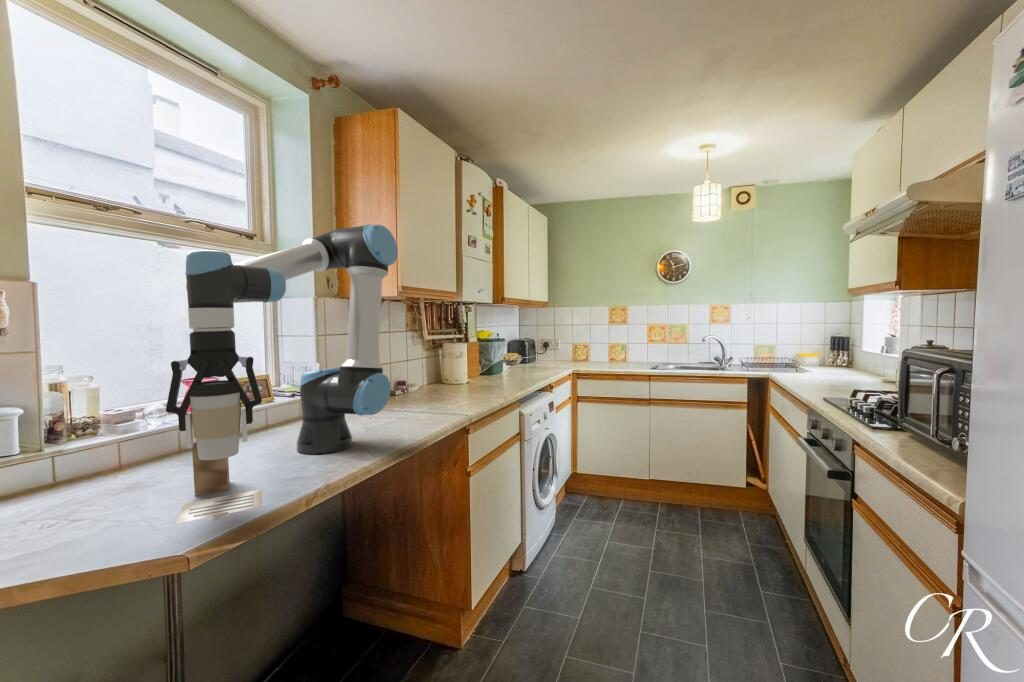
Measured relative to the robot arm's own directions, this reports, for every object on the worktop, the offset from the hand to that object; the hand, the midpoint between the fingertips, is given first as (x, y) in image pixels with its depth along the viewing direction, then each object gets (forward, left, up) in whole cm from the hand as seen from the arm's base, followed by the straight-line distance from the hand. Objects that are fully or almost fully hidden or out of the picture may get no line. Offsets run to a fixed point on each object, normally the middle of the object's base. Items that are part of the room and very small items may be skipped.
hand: (218, 443), depth 92 cm
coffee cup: (0, 0, -3) cm, 3 cm away
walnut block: (+2, -12, -13) cm, 18 cm away
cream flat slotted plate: (0, 0, -13) cm, 13 cm away
